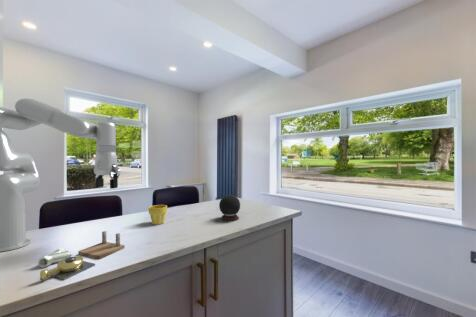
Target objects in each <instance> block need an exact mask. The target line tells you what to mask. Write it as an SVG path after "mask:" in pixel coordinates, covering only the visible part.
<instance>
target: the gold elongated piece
mask: <svg viewBox="0 0 476 317" xmlns="http://www.w3.org/2000/svg"><path fill="white" fill-rule="evenodd" d="M83 261H84V256H82V255H77V256H71V257H69V258H66V259H63V260H61V261H59V262H57V263H56V266H55V267H53V268H51V269H42V270H40V271H39V281H44V280H47V279H48V278H49V277H52V275H54V274H57V273H59V272H60V273H65V272H70V271H74V270H77V269H79V268H80V267H82V266H83Z"/></svg>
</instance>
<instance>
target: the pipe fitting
mask: <svg viewBox="0 0 476 317" xmlns="http://www.w3.org/2000/svg"><path fill="white" fill-rule="evenodd" d="M69 257H73V253H72V252H70V251H69V250H65V249H64V248H62V247H60V248H58V249H57V250H54V251H52V252H51V253H49V254H47V255H44V256H42V257H40V258H38V261H37V265H38V267H41V268H42V269H43V268H46V267H48V266H51V265H52V264H57V263H58V262H59V261H61V260H63V259H66V258H69Z"/></svg>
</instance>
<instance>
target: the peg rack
mask: <svg viewBox="0 0 476 317" xmlns="http://www.w3.org/2000/svg"><path fill="white" fill-rule="evenodd" d="M101 235H102V236H101V242H100V243H96V244H94V245H91V246H89V247H85V248H83V249H81V250H79V251H78V252H77V253H78V254H77V255H78V256H82V257H90V258H92V259H93V258H94V259H97V260H101V259H103V258H106V257H108V256H110V255H112V254H115V253H117V252H118V251H121V250H123V249H125V246H126V245H125V244H122V243H121V233H115V243H114V242H109V241H107V231H106V230H104V231H102V232H101Z"/></svg>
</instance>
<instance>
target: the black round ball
mask: <svg viewBox="0 0 476 317" xmlns="http://www.w3.org/2000/svg"><path fill="white" fill-rule="evenodd" d="M218 206H219V211H220V212H221V214H222V215H221V217H220V220H221V221H222V222H223V221H224V222H235V221H239V220H240V219H239V218H240V217H239V215H237V214H238V213H239V212H240V209H241V201H240V200H239V198H238V197H237V196H236V195H234V194H226V195H225V196H223V197H221V199H220V201H219V205H218Z"/></svg>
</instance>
